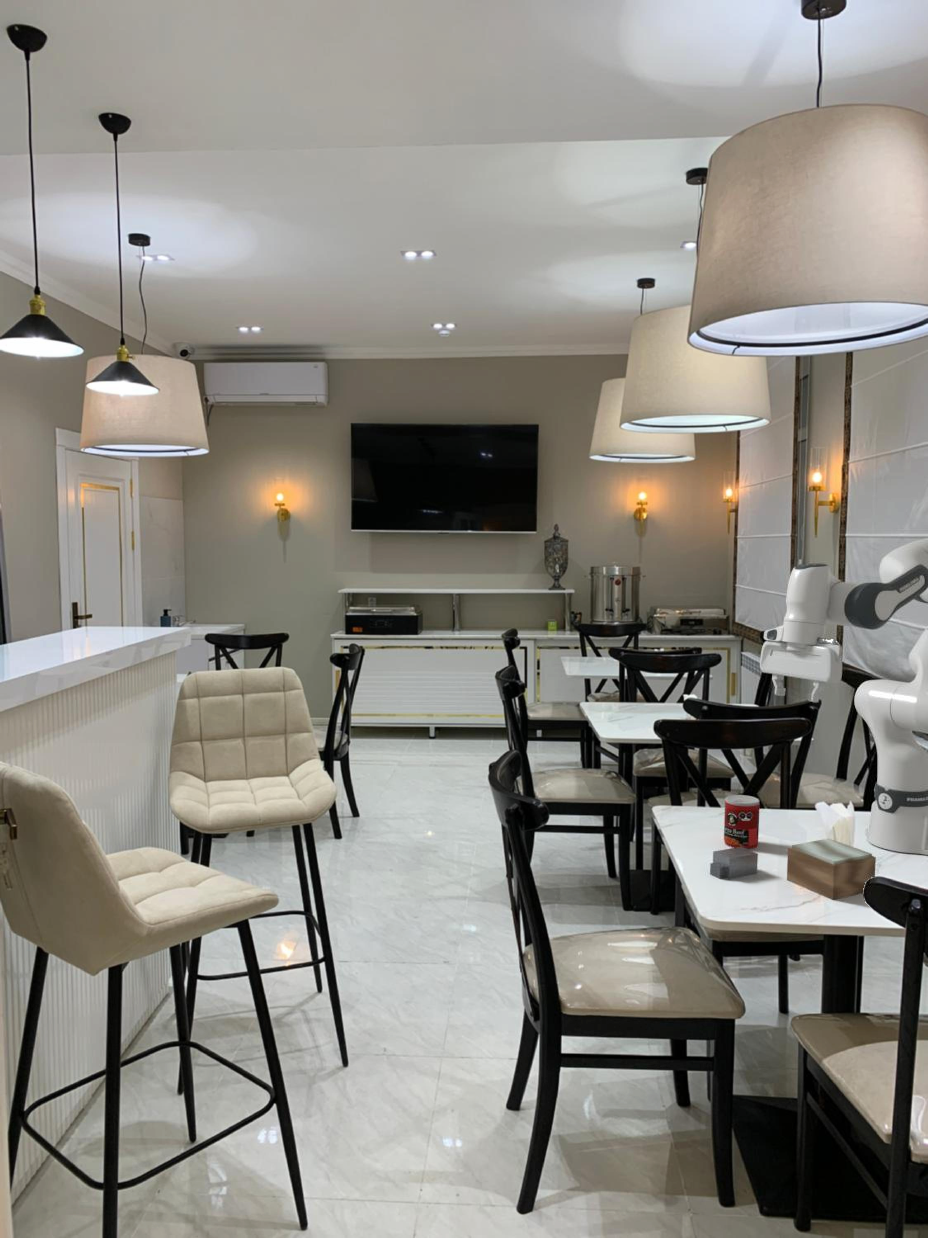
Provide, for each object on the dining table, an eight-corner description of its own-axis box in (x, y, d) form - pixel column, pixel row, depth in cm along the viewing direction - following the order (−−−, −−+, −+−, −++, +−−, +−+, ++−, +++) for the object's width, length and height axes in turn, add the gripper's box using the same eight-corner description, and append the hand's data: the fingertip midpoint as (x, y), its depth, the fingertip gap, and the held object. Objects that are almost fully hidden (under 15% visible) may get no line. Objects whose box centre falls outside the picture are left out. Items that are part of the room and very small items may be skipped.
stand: (827, 871, 193) (828, 837, 193) (874, 890, 183) (875, 854, 182) (786, 880, 188) (788, 845, 188) (832, 900, 177) (834, 862, 177)
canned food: (717, 843, 212) (718, 798, 211) (737, 837, 217) (739, 793, 216) (744, 852, 206) (745, 805, 205) (764, 845, 211) (766, 800, 210)
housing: (740, 866, 196) (741, 846, 196) (757, 874, 192) (757, 853, 191) (706, 872, 192) (707, 852, 192) (723, 880, 187) (723, 859, 187)
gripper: (852, 641, 186) (845, 706, 187) (778, 633, 205) (772, 693, 205) (831, 639, 184) (823, 705, 184) (758, 631, 202) (751, 691, 202)
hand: (796, 698), depth 195 cm, fingers open, 8 cm apart
